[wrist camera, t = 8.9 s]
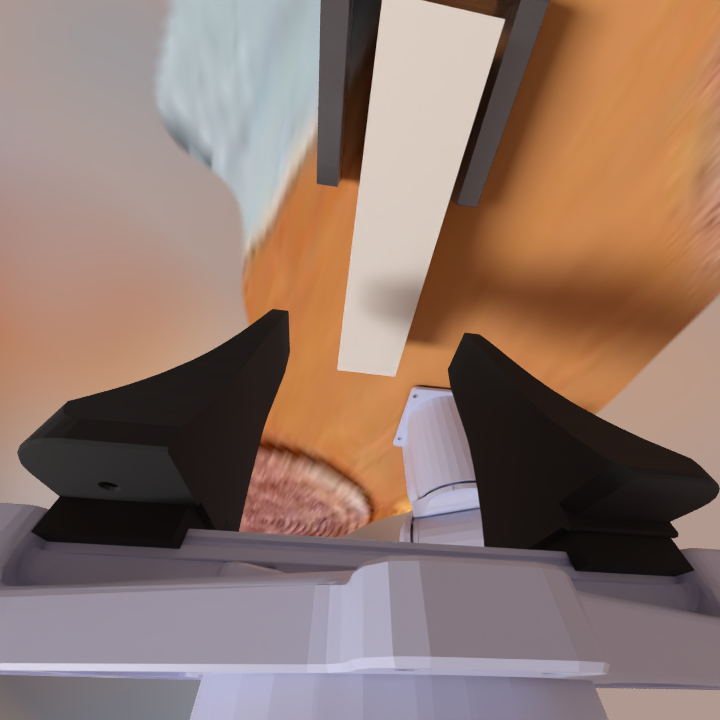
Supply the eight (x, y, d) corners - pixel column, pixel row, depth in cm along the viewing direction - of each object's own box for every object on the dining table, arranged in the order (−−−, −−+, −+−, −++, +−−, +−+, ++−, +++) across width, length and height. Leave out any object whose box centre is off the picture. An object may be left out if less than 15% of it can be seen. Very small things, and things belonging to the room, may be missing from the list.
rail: (389, 335, 23) (394, 376, 19) (341, 329, 23) (337, 370, 19) (463, 52, 13) (505, 19, 9) (377, 33, 12) (383, -9, 9)
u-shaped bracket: (460, 195, 16) (476, 207, 14) (323, 175, 16) (316, 183, 13) (525, -11, 11) (565, -46, 9) (331, -52, 11) (323, -99, 9)
